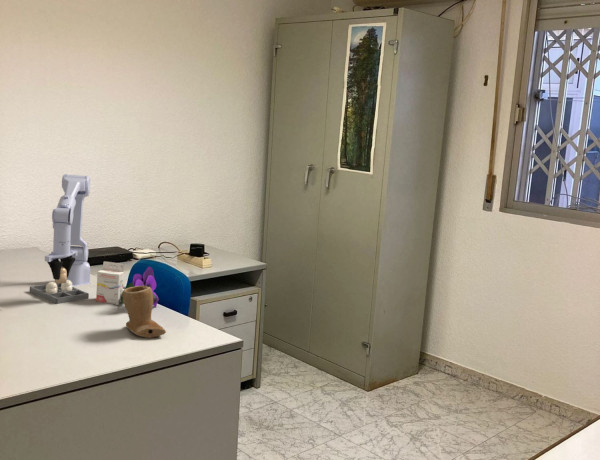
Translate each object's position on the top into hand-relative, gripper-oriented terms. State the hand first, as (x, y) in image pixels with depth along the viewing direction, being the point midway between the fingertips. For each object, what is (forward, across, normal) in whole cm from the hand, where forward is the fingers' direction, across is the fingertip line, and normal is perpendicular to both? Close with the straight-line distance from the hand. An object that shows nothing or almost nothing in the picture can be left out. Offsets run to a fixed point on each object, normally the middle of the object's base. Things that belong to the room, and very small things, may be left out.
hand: (60, 278), depth 235 cm
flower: (+9, -12, +24) cm, 29 cm away
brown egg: (+1, 0, 0) cm, 1 cm away
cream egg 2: (+8, -8, -4) cm, 12 cm away
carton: (+9, -5, -5) cm, 11 cm away
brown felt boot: (+9, +10, +42) cm, 44 cm away
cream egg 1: (+8, -2, -6) cm, 10 cm away
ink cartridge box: (+9, -10, +14) cm, 19 cm away
